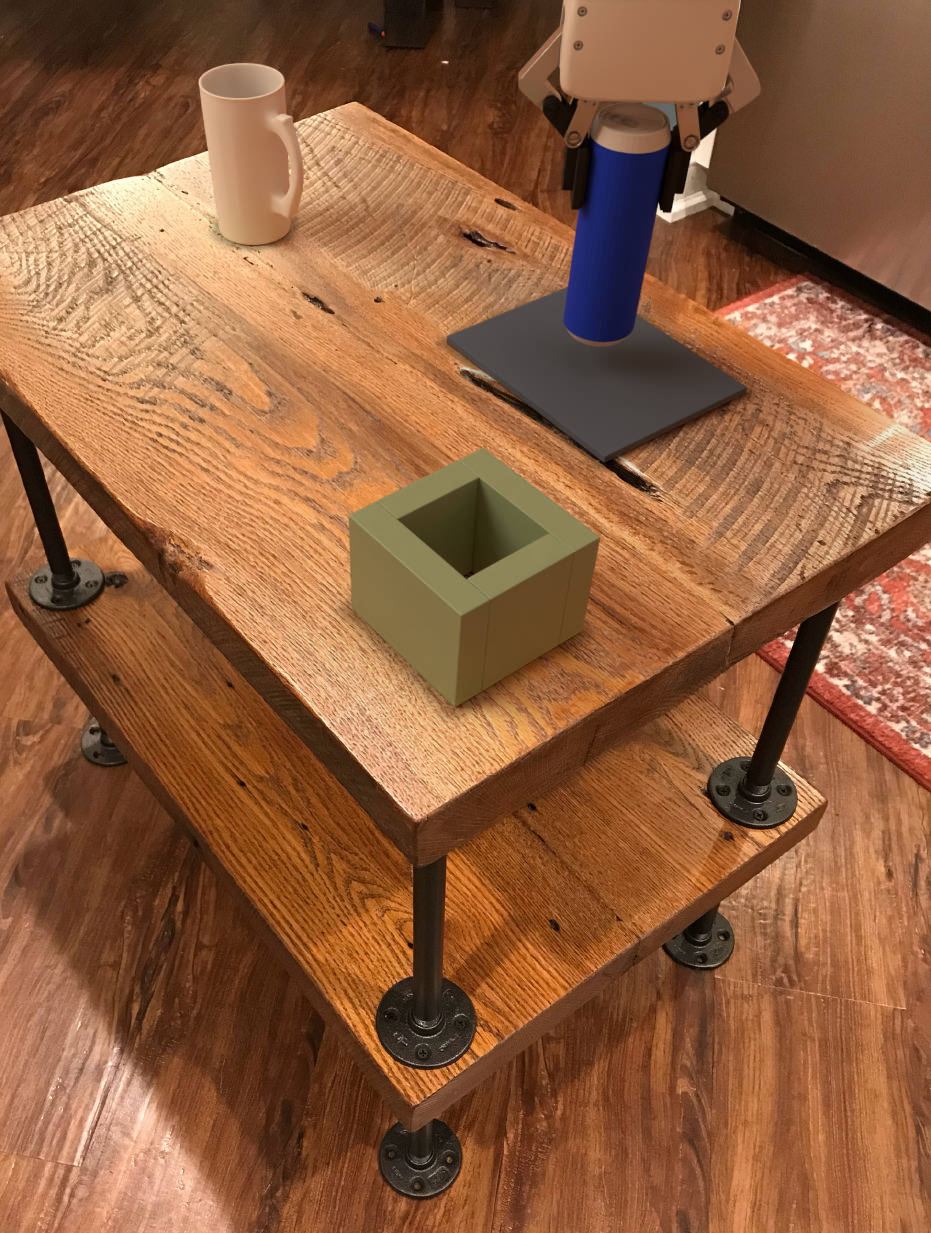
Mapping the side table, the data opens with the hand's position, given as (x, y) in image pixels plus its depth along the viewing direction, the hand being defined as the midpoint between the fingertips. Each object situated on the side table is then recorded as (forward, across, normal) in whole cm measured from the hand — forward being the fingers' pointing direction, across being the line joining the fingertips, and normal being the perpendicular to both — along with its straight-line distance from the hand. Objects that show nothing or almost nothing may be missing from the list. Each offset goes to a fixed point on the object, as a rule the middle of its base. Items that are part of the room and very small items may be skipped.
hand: (619, 198), depth 76 cm
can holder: (+13, +9, +27) cm, 31 cm away
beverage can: (+10, 0, 0) cm, 10 cm away
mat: (+13, 0, 0) cm, 13 cm away
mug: (+13, +27, -18) cm, 35 cm away
